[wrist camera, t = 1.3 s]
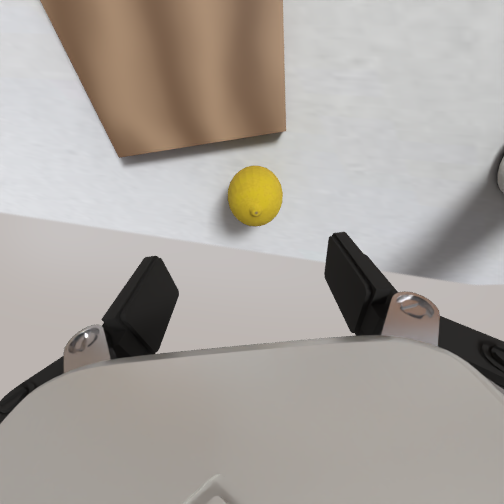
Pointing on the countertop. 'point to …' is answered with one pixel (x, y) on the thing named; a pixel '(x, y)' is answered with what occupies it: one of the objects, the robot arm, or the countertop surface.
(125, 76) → the cutting board
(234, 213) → the lemon
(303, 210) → the countertop surface
